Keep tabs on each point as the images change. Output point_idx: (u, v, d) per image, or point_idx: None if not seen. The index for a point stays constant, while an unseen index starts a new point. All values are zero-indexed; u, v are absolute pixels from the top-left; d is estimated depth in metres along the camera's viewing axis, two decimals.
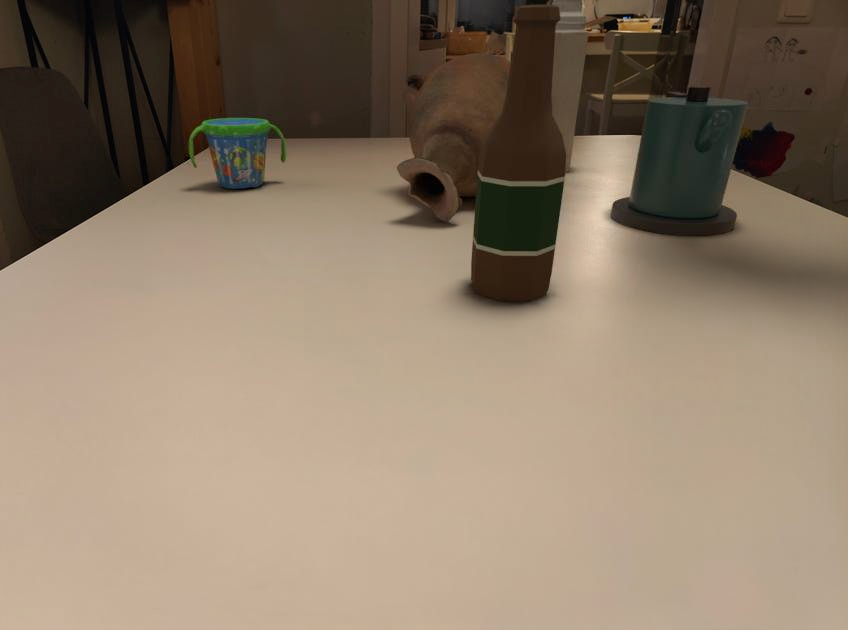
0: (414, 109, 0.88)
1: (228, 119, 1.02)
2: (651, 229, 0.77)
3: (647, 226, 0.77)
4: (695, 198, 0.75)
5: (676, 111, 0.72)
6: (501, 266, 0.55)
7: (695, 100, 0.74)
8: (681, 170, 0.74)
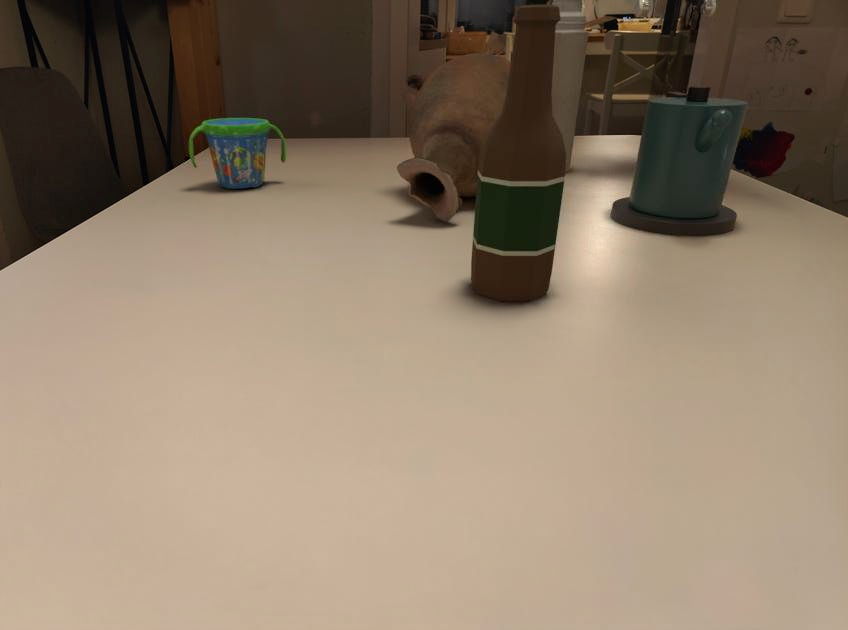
0: (414, 109, 0.88)
1: (228, 119, 1.02)
2: (651, 229, 0.77)
3: (647, 226, 0.77)
4: (695, 198, 0.75)
5: (676, 111, 0.72)
6: (501, 266, 0.55)
7: (695, 100, 0.74)
8: (681, 170, 0.74)
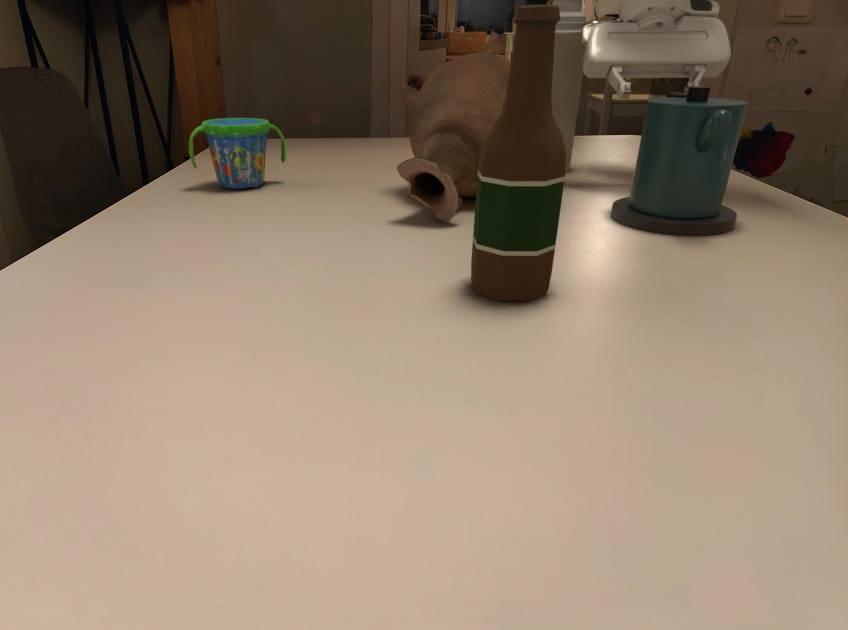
0: (414, 109, 0.88)
1: (228, 119, 1.02)
2: (651, 229, 0.77)
3: (647, 226, 0.77)
4: (695, 198, 0.75)
5: (676, 111, 0.72)
6: (501, 266, 0.55)
7: (695, 100, 0.74)
8: (681, 170, 0.74)
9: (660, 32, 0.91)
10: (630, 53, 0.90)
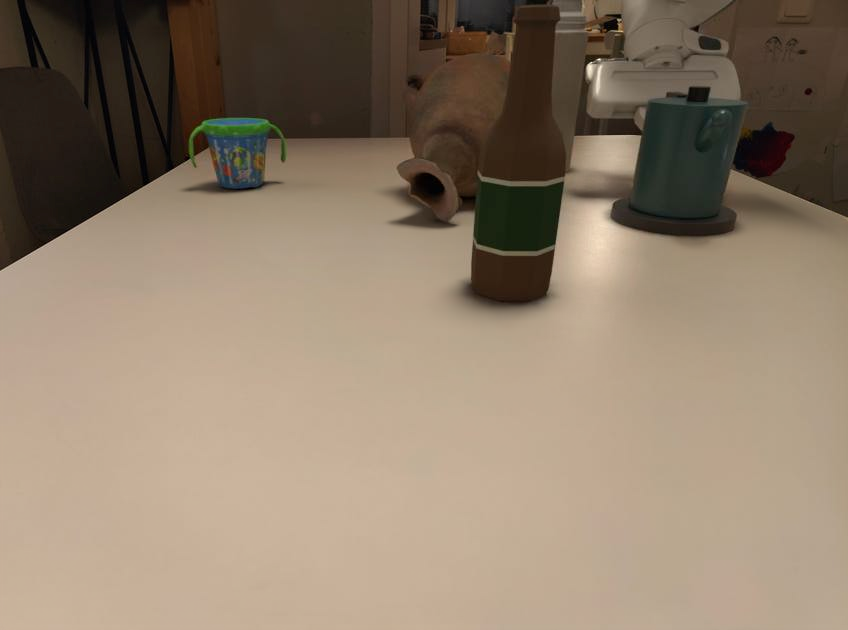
0: (414, 109, 0.88)
1: (228, 119, 1.02)
2: (651, 229, 0.77)
3: (647, 226, 0.77)
4: (695, 198, 0.75)
5: (676, 111, 0.72)
6: (501, 266, 0.55)
7: (695, 100, 0.74)
8: (681, 170, 0.74)
9: (667, 71, 0.87)
10: (636, 94, 0.86)
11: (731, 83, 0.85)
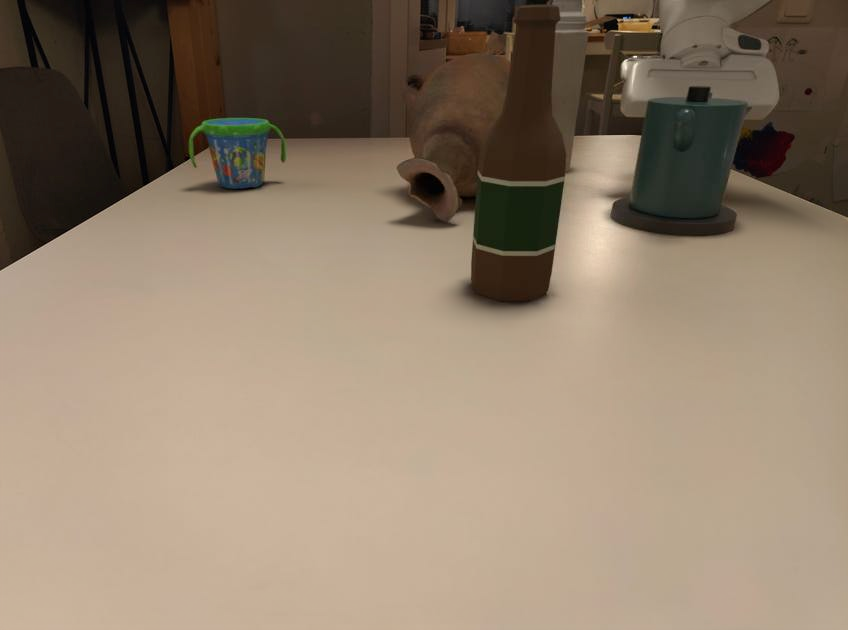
0: (414, 109, 0.88)
1: (228, 119, 1.02)
2: (651, 229, 0.77)
3: (647, 226, 0.77)
4: (675, 197, 0.75)
5: (659, 109, 0.74)
6: (501, 266, 0.55)
7: (691, 100, 0.74)
8: (661, 168, 0.75)
9: (704, 71, 0.86)
10: (672, 93, 0.85)
11: (770, 84, 0.84)
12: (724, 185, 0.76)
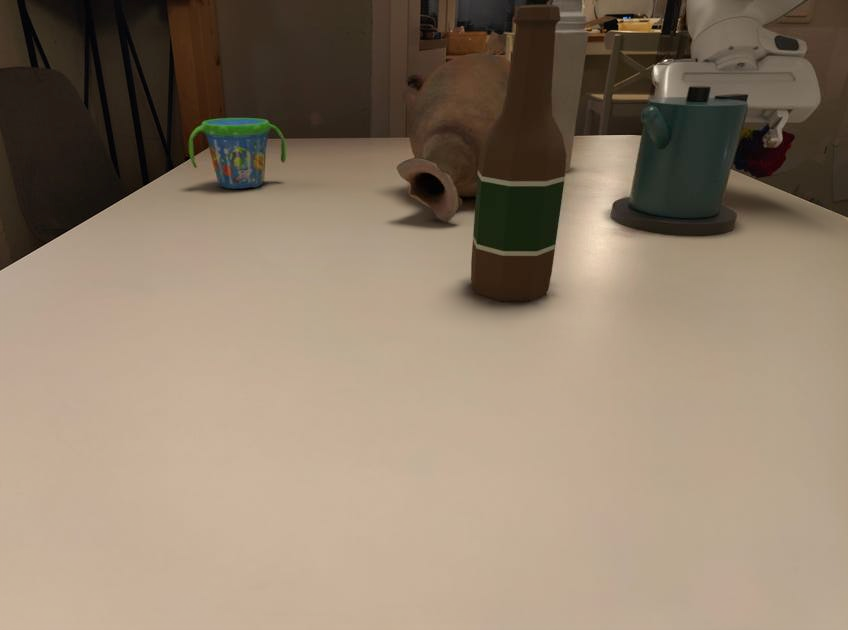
0: (414, 109, 0.88)
1: (228, 119, 1.02)
2: (651, 229, 0.77)
3: (647, 226, 0.77)
4: (654, 194, 0.77)
5: None
6: (501, 266, 0.55)
7: (687, 99, 0.75)
8: (645, 164, 0.77)
9: (741, 73, 0.82)
10: (709, 97, 0.81)
11: (810, 85, 0.81)
12: (712, 187, 0.75)
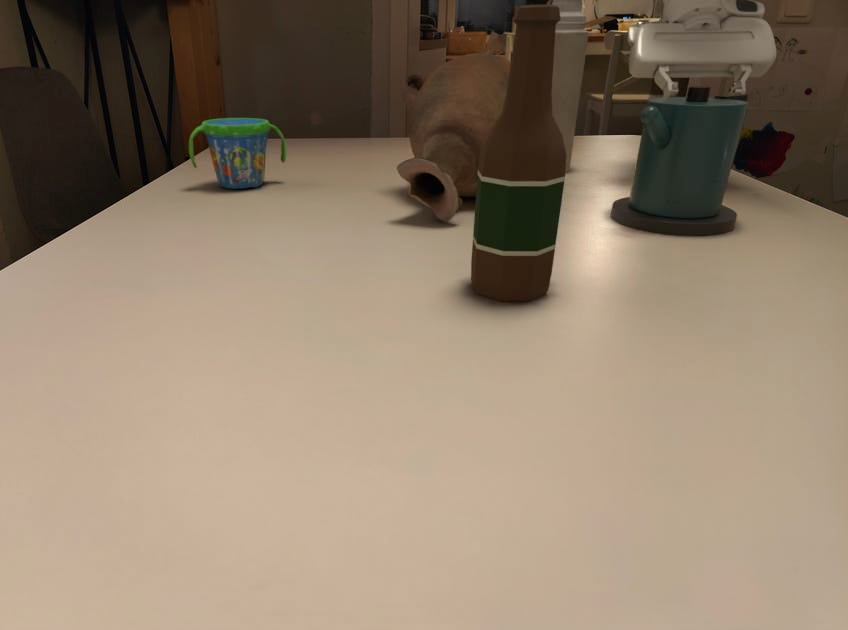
0: (414, 109, 0.88)
1: (228, 119, 1.02)
2: (651, 229, 0.77)
3: (647, 226, 0.77)
4: (654, 194, 0.77)
5: None
6: (501, 266, 0.55)
7: (687, 99, 0.75)
8: (645, 164, 0.77)
9: (706, 33, 0.92)
10: (677, 53, 0.91)
11: (767, 43, 0.90)
12: (712, 187, 0.75)
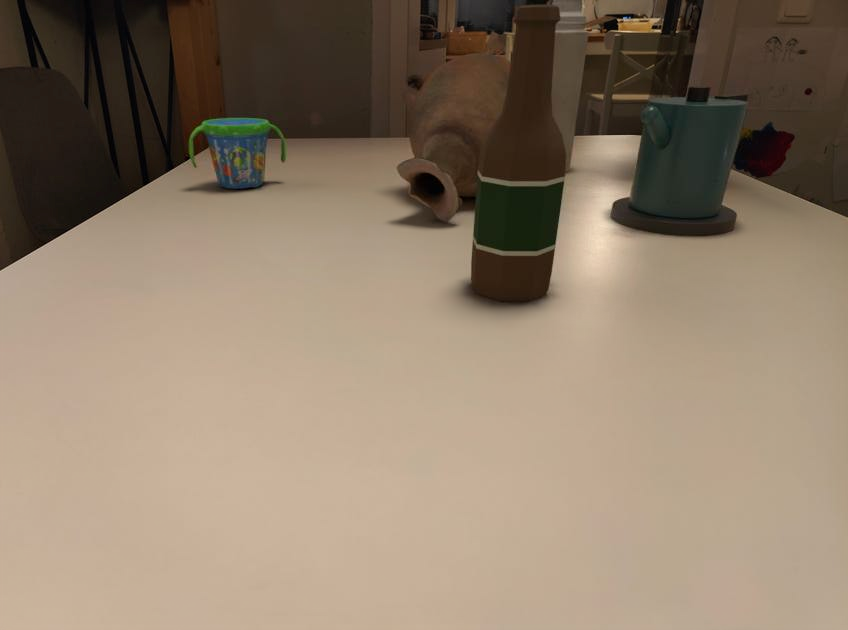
0: (414, 109, 0.88)
1: (228, 119, 1.02)
2: (651, 229, 0.77)
3: (647, 226, 0.77)
4: (654, 194, 0.77)
5: None
6: (501, 266, 0.55)
7: (687, 99, 0.75)
8: (645, 164, 0.77)
9: None
10: None
11: None
12: (712, 187, 0.75)
